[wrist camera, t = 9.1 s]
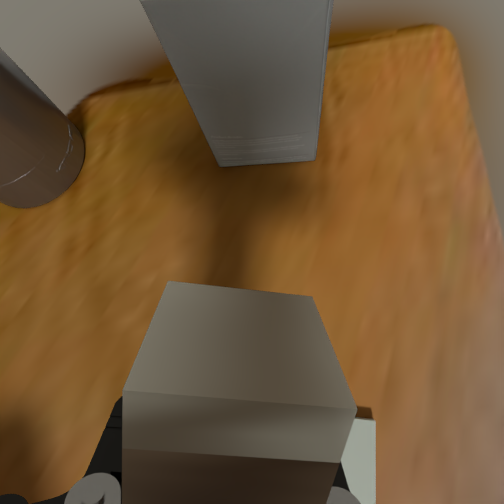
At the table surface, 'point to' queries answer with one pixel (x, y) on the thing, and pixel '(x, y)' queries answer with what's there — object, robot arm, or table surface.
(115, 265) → the table surface
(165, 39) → the skincare box
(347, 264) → the table surface
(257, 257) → the table surface
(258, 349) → the walnut block
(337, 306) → the table surface
